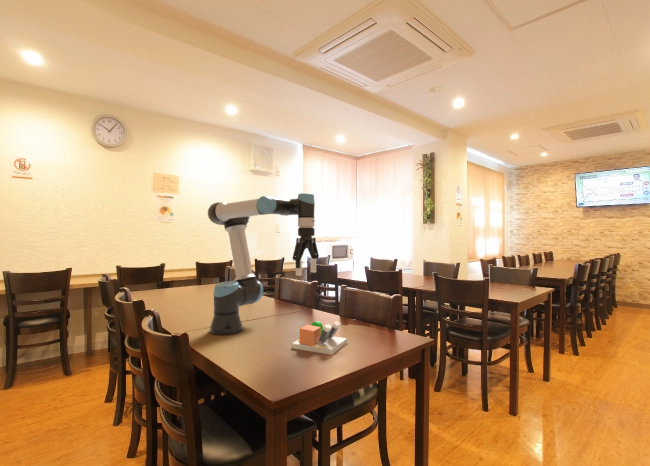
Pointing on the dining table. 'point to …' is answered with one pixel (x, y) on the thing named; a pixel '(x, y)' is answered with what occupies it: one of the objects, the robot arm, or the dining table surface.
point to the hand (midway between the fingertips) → (306, 274)
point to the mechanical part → (318, 325)
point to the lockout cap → (309, 335)
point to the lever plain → (333, 329)
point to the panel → (322, 346)
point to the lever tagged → (324, 334)
